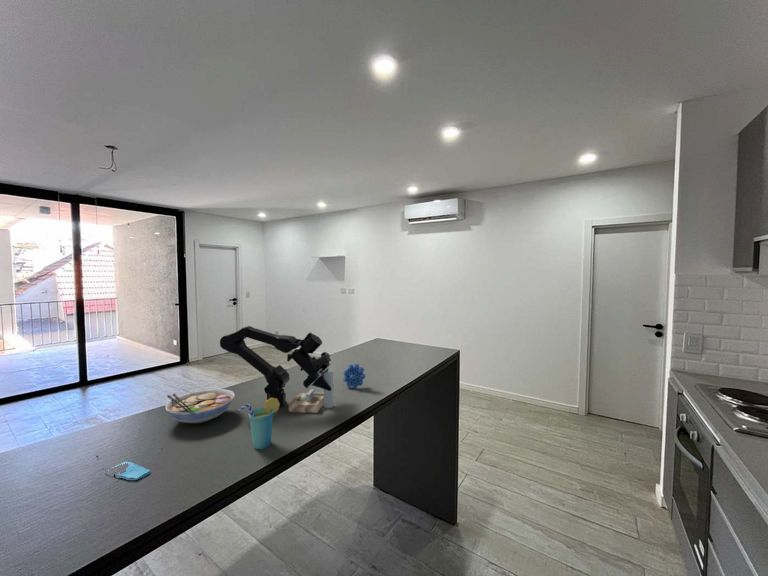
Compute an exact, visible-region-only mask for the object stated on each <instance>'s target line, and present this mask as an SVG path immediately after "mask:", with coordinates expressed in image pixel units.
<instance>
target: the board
mask: <svg viewBox="0 0 768 576" xmlns="http://www.w3.org/2000/svg"><path fill="white" fill-rule="evenodd" d="M307 393H308V392H298V394H297V395H296V396H295V397H294V398H293V399H292V400H291V401H290V402H289V403H287V404H288V406H287V407H288V413H289V412H290V413H306V412H307V413H310V414H317V413H319V411H320V410H321V408H322V407H323V406H324V396H313V398H312V399H311V400H310V401H300V398H301V396H303V395H306V394H307Z"/></svg>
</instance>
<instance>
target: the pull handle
mask: <svg viewBox="0 0 768 576" xmlns="http://www.w3.org/2000/svg"><path fill="white" fill-rule="evenodd" d="M324 379H325V381H326V382H327V383H328V384H329V386H330V387H331V391H328V390H325V389H323V391H322V392H319V391H316V392H315V388H311V389H309V390H308V392H306V393H307V394H306V401H310V400H311V399H312V398H313V396H324V404H323V407H324V408H327V409H329V408H333V406H334V404H335V403H334V402H335V401H334V387H333V385H334V371H328V372H325V373H324Z"/></svg>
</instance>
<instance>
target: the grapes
mask: <svg viewBox="0 0 768 576" xmlns="http://www.w3.org/2000/svg"><path fill="white" fill-rule="evenodd" d="M364 371H365V370H364V367H363V366H360V365H359V364H358V363H354V364H349V365H348V366H347V369H345V370H344V371H343V375H344V377H343V378H342V380H343V382H344V383H346V387H348V388H352V389H354V390H355V389H357V388H358V387H361V386H362V385H363V384H364V379H366V374H365V373H364Z"/></svg>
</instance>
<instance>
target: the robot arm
mask: <svg viewBox="0 0 768 576" xmlns="http://www.w3.org/2000/svg"><path fill="white" fill-rule="evenodd" d="M247 338H248V339H250V340H255V341H258V342H261V343H264V344H267V345H270V346H273V347H274V348H275V349H276V350H278V351H279V352H282V353H284V354H287V356H286V358H287V360H286V361H287V362H290V361H291V360H293V361H294V362H295V363H296V364H297V365H298V366H299V367H300V368H299V370H300V371H301V372H305V374H307V376H306V377H307V378H306V379H305V380H303V382H302V385H303V387H305V389H308V388H309V387H310V386H313V387H315V388H320V389H323V390H324V389H325V390H328V391H331V387H330V386H329V384H328V383H327V382H326V381H325V379H324V373H325V372H329V367H330V365H331V363H330V362H331V361H332V360H331V354H330V353H328V352H326V351H324V352H322V353H320V356H319V357H315V356H311V355H310V354H314V353H315V351H317V350H318V349H319V348H320V347H321V346H322V345H323V341H322V339H321V338H320V337H319V336H317V335H316V334H314V333H312V332H311V331H310V332H309V333H307V334H306V335H305V337H304V338H303V339H300V338H296V337H295V336H293V335H287V334H286V335H285V334H284V335H283V334H282V335H281V334H275V333H272V332H268V331H265V330H263V329H259V328H256V327H253V326H252V325H251V326H250V325H248V326H244V327H242V328H240V329H239V330H237V331H235V332H232V333H229V334H226V335H224V336H222V337H220V340H219V346H220V347H221V348H222V349H223V350H225V351H226V352H228V353H230V354H235V355H237V356H239V357H240V358H241V359H243V360H244V362H246V363H248V364H249V365H250V366H251V367H253V368H254V369H256V370H257V372H259V373H261V374H262V375H263V376H264V378H265V381H266V382H267V385H266V386H265V387H263V390H264V392H265V394H266V401H267V400H269V399H270V398H276V399H278V401H279V403H280V406H279V409H280V408H282V406H284V405H285V404H286V402H287V400H286V392H285V387H286V384H288V382H290V374H289V372H288V370H287V369H285V368H284V367H283V366H282V365H280V364H279V365H277V366H274V365H272V364H270V363H269V361H266V359H264V358H263V357H262V356H260V355H259V354H258V353H256V352H255V351H254V350H253V349H251V348H250V347H249V346H247V344H246V341H245V339H247ZM299 347H300V348H299ZM290 352H291V353H290ZM334 387H335V386H334V384H333V388H334Z"/></svg>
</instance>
